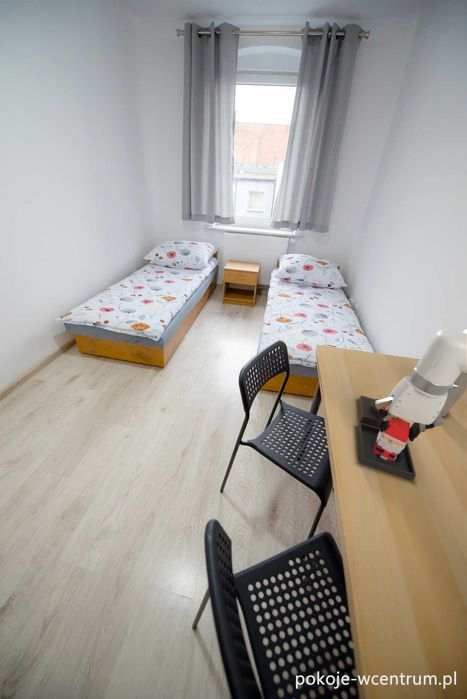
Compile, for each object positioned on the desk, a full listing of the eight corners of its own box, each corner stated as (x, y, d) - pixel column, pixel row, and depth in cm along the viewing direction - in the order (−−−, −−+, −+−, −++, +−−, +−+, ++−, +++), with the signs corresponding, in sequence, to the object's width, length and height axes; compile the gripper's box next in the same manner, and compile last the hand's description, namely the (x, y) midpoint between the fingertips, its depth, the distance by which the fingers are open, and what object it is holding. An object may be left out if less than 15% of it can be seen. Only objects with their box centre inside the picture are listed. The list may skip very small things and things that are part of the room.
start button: (387, 405, 87) (389, 401, 86) (388, 413, 84) (391, 409, 83) (375, 401, 88) (377, 397, 87) (376, 409, 85) (378, 405, 84)
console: (392, 410, 91) (398, 401, 89) (397, 433, 83) (404, 423, 81) (358, 401, 94) (362, 391, 91) (359, 422, 86) (365, 412, 83)
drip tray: (402, 441, 81) (406, 436, 80) (411, 480, 71) (416, 475, 69) (356, 427, 84) (359, 422, 82) (359, 463, 73) (362, 458, 72)
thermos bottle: (446, 406, 96) (498, 338, 80) (446, 420, 90) (503, 350, 75) (421, 396, 99) (466, 329, 84) (420, 408, 94) (468, 339, 78)
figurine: (398, 468, 72) (420, 439, 65) (370, 454, 75) (388, 425, 68) (401, 446, 78) (422, 417, 72) (375, 434, 81) (393, 405, 74)
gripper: (465, 382, 64) (427, 432, 74) (386, 361, 67) (359, 412, 77) (479, 403, 58) (434, 455, 68) (391, 380, 61) (361, 432, 71)
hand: (395, 432), depth 73 cm, fingers closed on figurine, 6 cm apart
